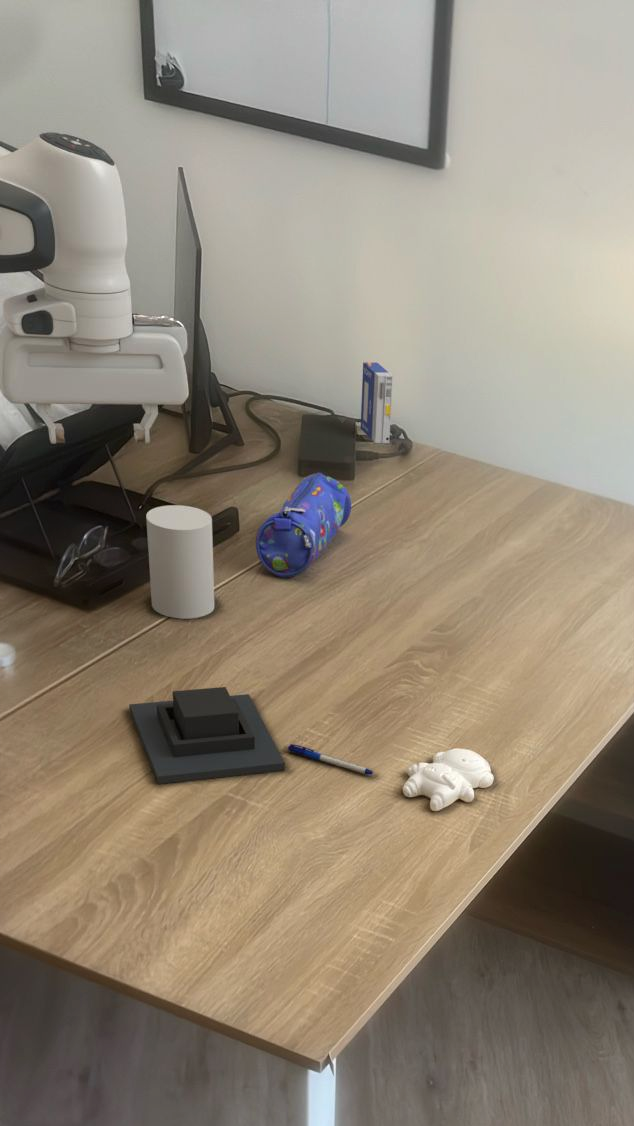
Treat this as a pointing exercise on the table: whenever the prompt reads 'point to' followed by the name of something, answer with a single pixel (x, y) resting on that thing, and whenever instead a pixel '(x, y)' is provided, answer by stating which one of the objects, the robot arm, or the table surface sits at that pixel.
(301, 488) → the pencil case
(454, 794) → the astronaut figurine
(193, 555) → the cup
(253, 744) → the socket base plate
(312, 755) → the ballpoint pen
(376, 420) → the walkman
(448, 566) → the table surface
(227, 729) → the black box
